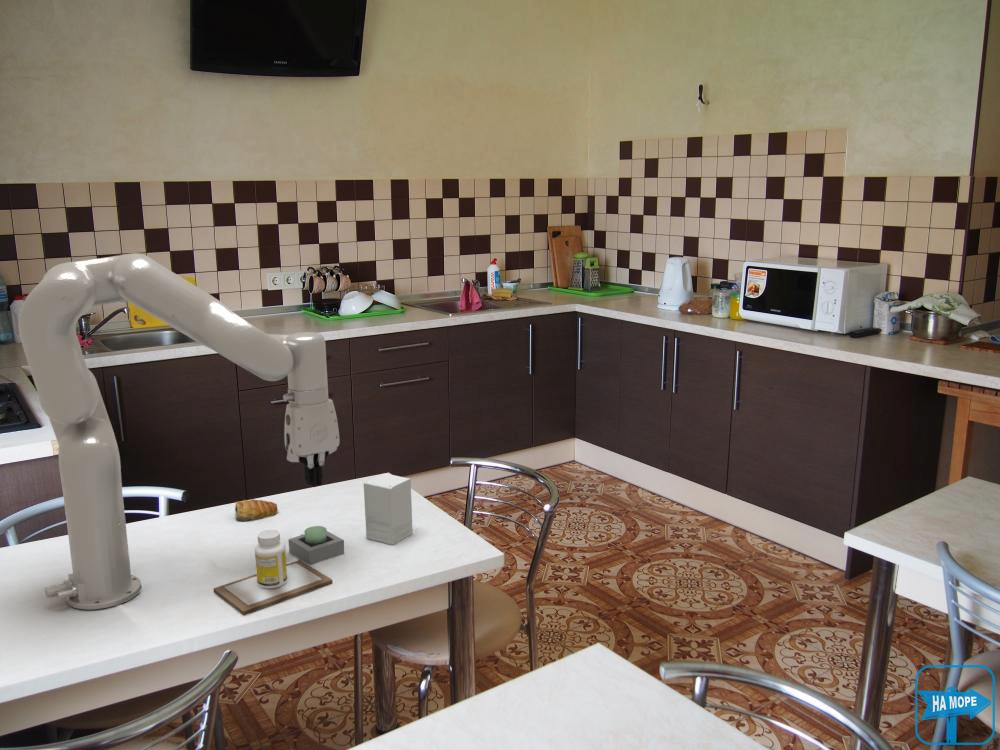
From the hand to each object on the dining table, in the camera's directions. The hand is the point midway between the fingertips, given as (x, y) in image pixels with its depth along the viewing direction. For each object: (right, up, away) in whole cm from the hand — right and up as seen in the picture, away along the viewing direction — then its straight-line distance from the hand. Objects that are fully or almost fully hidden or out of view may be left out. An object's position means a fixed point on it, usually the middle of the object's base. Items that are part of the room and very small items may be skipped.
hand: (314, 484), depth 172 cm
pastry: (-19, -10, +24) cm, 32 cm away
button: (0, -12, +3) cm, 12 cm away
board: (-5, -18, -12) cm, 22 cm away
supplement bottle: (-5, -17, -12) cm, 22 cm away
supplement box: (+14, -13, +12) cm, 22 cm away
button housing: (0, -14, +3) cm, 15 cm away
